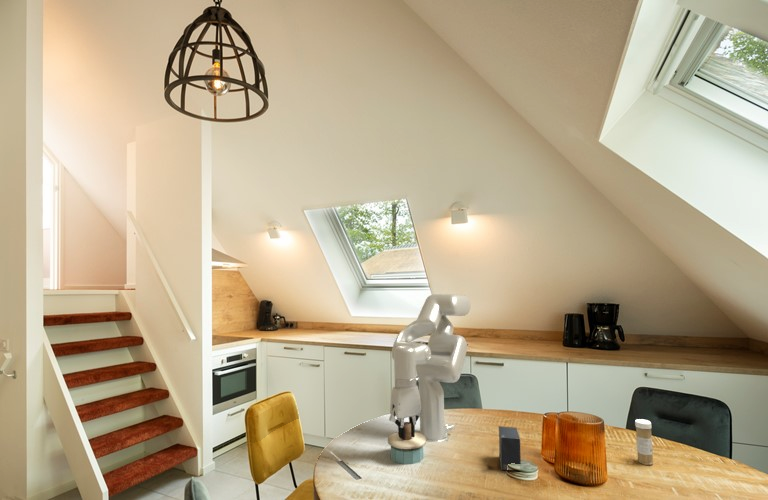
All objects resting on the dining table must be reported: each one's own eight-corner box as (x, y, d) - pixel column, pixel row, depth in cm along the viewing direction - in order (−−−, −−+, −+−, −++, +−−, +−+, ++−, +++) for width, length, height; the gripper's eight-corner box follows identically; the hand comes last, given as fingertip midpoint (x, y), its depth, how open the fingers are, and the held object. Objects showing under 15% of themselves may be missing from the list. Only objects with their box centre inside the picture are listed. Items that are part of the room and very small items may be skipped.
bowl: (411, 450, 151) (411, 436, 151) (429, 462, 141) (429, 446, 142) (385, 457, 145) (384, 443, 146) (402, 470, 136) (401, 454, 136)
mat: (375, 453, 149) (375, 451, 149) (397, 469, 136) (397, 467, 136) (336, 463, 142) (336, 461, 142) (356, 481, 129) (356, 479, 129)
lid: (411, 431, 153) (411, 414, 153) (433, 443, 142) (433, 425, 142) (380, 439, 146) (380, 421, 146) (401, 452, 135) (400, 433, 135)
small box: (522, 472, 133) (521, 438, 134) (501, 470, 134) (499, 437, 135) (518, 458, 143) (517, 426, 144) (498, 456, 145) (497, 425, 145)
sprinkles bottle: (642, 458, 141) (640, 417, 142) (656, 464, 137) (654, 421, 138) (634, 461, 139) (631, 420, 140) (648, 466, 135) (645, 424, 136)
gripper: (418, 377, 152) (420, 429, 151) (379, 383, 144) (380, 438, 143) (431, 381, 146) (432, 435, 145) (390, 388, 138) (391, 446, 137)
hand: (406, 436), depth 144 cm, fingers closed on lid, 3 cm apart
